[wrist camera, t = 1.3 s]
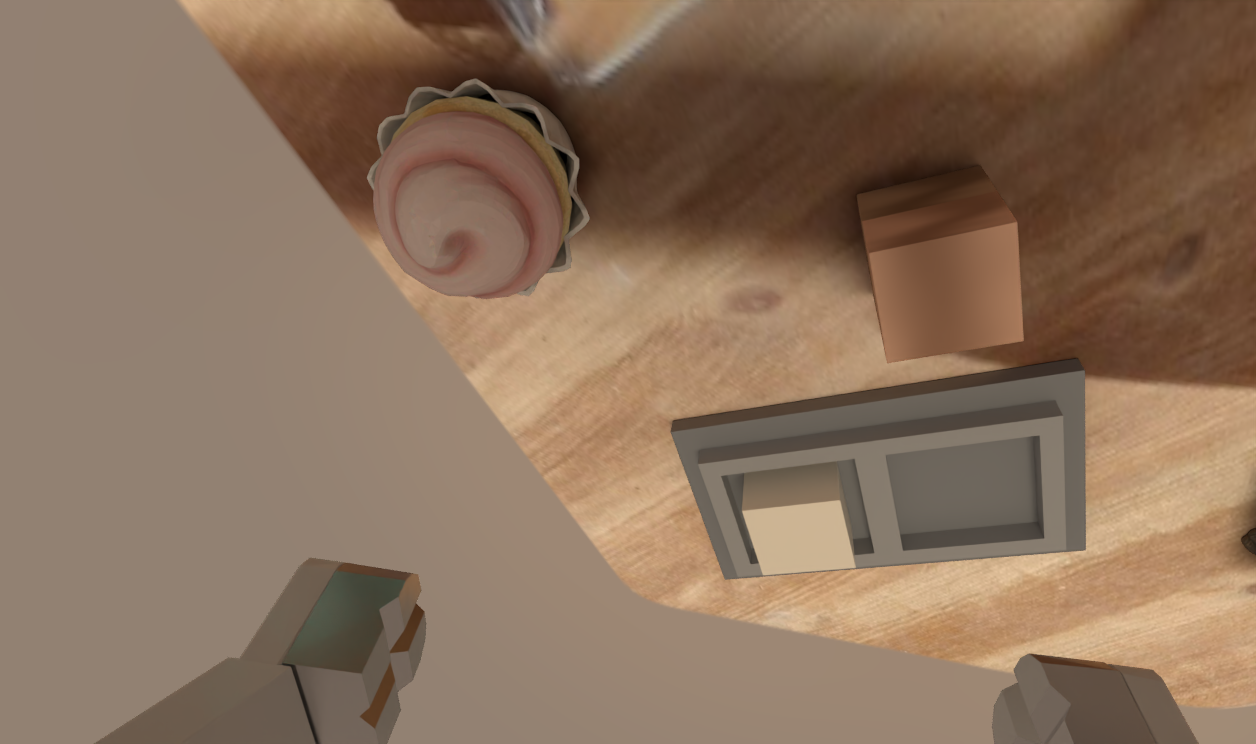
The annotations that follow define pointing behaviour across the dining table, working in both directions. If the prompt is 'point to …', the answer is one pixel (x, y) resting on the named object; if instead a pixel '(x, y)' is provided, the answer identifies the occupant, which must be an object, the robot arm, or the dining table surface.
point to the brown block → (942, 265)
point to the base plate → (895, 474)
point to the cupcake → (477, 191)
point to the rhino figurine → (1250, 541)
